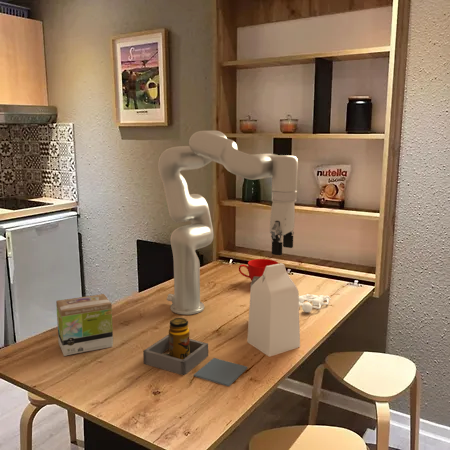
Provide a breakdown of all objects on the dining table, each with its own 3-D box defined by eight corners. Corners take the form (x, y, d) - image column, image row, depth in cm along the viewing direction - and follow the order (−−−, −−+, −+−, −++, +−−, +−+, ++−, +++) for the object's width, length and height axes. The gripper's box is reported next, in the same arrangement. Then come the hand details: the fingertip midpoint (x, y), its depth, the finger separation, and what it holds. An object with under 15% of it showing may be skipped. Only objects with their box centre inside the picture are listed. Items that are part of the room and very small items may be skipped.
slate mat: (193, 376, 132) (193, 374, 132) (213, 359, 142) (213, 357, 142) (229, 386, 127) (229, 384, 127) (247, 368, 137) (247, 366, 137)
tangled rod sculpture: (309, 296, 197) (309, 286, 197) (340, 303, 187) (339, 292, 186) (279, 307, 184) (279, 297, 183) (310, 315, 174) (310, 304, 173)
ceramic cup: (240, 279, 214) (240, 258, 212) (278, 281, 212) (279, 259, 210) (236, 289, 202) (237, 266, 199) (277, 291, 199) (278, 268, 197)
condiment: (192, 363, 139) (192, 324, 137) (163, 366, 137) (162, 327, 135) (188, 351, 146) (188, 314, 144) (160, 354, 144) (159, 317, 142)
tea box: (63, 357, 143) (60, 310, 140) (58, 344, 152) (55, 299, 149) (114, 347, 150) (111, 302, 147) (106, 334, 158) (103, 292, 155)
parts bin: (143, 363, 139) (143, 350, 139) (169, 345, 150) (169, 333, 150) (184, 375, 133) (183, 362, 132) (208, 355, 144) (208, 343, 143)
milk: (269, 356, 144) (271, 273, 138) (247, 342, 153) (248, 263, 148) (300, 347, 150) (302, 266, 144) (277, 333, 159) (279, 257, 154)
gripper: (282, 192, 156) (281, 243, 159) (261, 199, 140) (260, 256, 144) (304, 193, 152) (302, 246, 156) (286, 201, 137) (284, 259, 141)
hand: (282, 250), depth 150 cm, fingers open, 9 cm apart
